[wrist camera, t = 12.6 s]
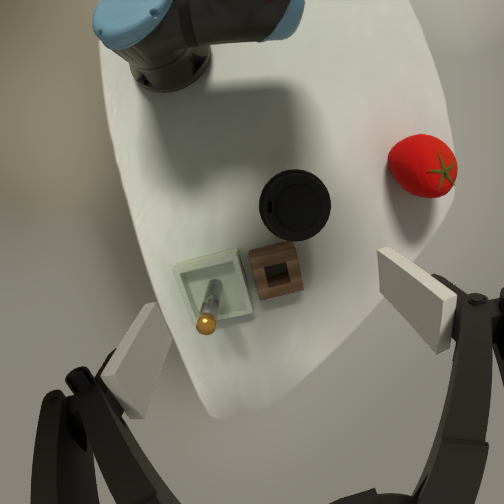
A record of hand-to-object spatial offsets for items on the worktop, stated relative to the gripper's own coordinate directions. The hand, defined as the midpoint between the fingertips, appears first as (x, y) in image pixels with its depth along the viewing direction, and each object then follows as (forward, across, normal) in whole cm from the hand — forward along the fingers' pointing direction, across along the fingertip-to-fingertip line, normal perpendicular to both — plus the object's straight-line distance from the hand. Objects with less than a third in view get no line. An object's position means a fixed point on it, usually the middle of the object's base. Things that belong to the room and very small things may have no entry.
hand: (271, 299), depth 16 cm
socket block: (+37, +1, -12) cm, 39 cm away
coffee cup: (+37, +6, 0) cm, 37 cm away
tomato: (+37, +31, +2) cm, 48 cm away
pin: (+36, -11, -13) cm, 40 cm away
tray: (+37, -11, -13) cm, 40 cm away
